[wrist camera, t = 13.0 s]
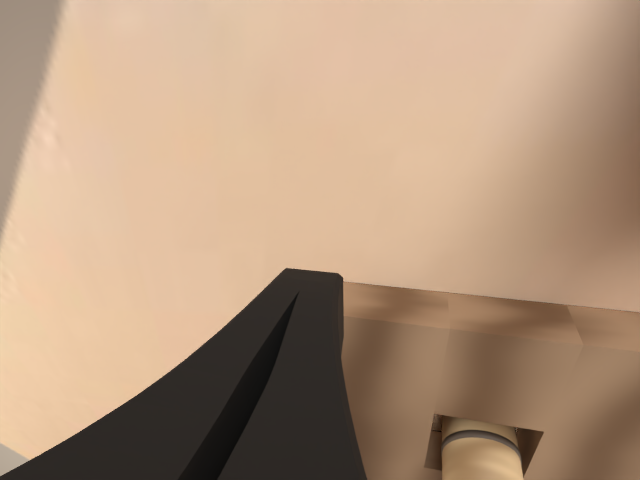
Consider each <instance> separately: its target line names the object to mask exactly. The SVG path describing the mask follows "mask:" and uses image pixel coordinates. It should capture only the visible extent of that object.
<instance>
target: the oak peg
mask: <svg viewBox="0 0 640 480" xmlns="http://www.w3.org/2000/svg"><path fill="white" fill-rule="evenodd" d="M441 456H442V480H524V479H523V473H522V467H521V465H522V461H521V454H520V451H519V448H518V442H517V436H516V430H515V427H513V426H506V425H500V424H494V423H488V422H482V421H476V420H470V419H463V418H457V417H451V416H445V415H442V444H441Z"/></svg>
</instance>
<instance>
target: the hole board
mask: <svg viewBox="0 0 640 480" xmlns="http://www.w3.org/2000/svg"><path fill="white" fill-rule="evenodd" d="M343 302H344V338H343V346H342V354H341V360H342V367H343V374H344V380H345V386H346V391H347V397H348V402H349V407H350V412H351V416H352V421H353V425H354V430H355V434H356V438H357V442H358V446H359V450H360V454H361V458H362V462H363V466H364V470H365V473H366V477H367V480H442V456H441V444H442V432H437V431H431V427H432V422H433V417H434V414H439V415H445V416H451V417H457V418H463V419H470V420H476V421H482V422H488V423H494V424H500V425H506V426H513V427H519V429H518V431H517V434H516V436H517V442H518V448H519V451H520V454H521V461H522V465H521V467H522V473H523V479H524V480H640V313H637V312H628V311H618V310H609V309H599V308H589V307H580V306H570V305H560V304H551V303H541V302H532V301H522V300H512V299H503V298H493V297H484V296H474V295H464V294H455V293H445V292H436V291H426V290H416V289H407V288H397V287H388V286H378V285H368V284H359V283H349V282H343Z"/></svg>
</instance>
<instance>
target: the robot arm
mask: <svg viewBox="0 0 640 480" xmlns="http://www.w3.org/2000/svg"><path fill="white" fill-rule="evenodd" d="M343 338H344V302H343V277H342V276H341V275H339V274H338V273H330V272H320V271H310V270H300V269H290V268H286V269H285V270H283V271H282V272H281V273H280V274H279V275H278V276H277V277H276V278H275V279H274V280H273V281H272V282H271V283H270V284H269V285H268V286H267V287H266V288H265V289H264V290H263V291H262V292H261V293H260V294H259V295H258V296H257V297H256V298H255V299H253V300H252V301H251V302H250V303H249V304H248V305H247V306H246V307H245V308H244V309H243V310H242V311H241V312H240V313H239V314H237V315H236V316H235V317H234V318H233V319H232V320H231V321H230V322H229V323H228V324H227V325H226V326H224V327H223V328H222V329H221V330H220V331H219V332H218V333H217V334H215V335H214V336H213V337H212V338H211V339H209V340H208V341H207V342H206V343H205V344H203V345H202V346H201V347H200V348H199V349H197V350H196V351H195V352H194V353H193V354H191V355H190V356H189V357H188V358H187V359H185V360H184V361H183V362H181V363H180V364H179V365H178V366H176V367H175V368H174V369H172V370H171V371H170V372H168V373H167V374H166V375H164V376H163V377H162V378H160V379H159V380H158V381H156V382H155V383H153V384H152V385H151V386H149V387H148V388H146V389H145V390H144V391H142V392H141V393H139V394H138V395H137V396H135V397H134V398H132V399H131V400H129V401H128V402H126V403H124V404H123V405H121V406H120V407H118V408H117V409H115V410H113V411H112V412H110V413H109V414H107V415H106V416H104V417H102V418H101V419H99V420H98V421H96V422H94V423H93V424H91V425H90V426H88V427H86V428H85V429H83V430H82V431H80V432H79V433H77V434H75V435H74V436H72V437H70V438H69V439H67V440H65V441H63V442H62V443H60V444H58V445H56V446H55V447H53V448H51V449H49V450H48V451H46V452H44V453H42V454H41V455H39V456H37V457H35V458H33V459H32V460H30V461H28V462H26V463H24V464H23V465H20V466H19V467H17V468H15V469H13V470H11V471H10V472H8V473H6V474H4V475H2V476H0V480H367V477H366V473H365V470H364V466H363V462H362V458H361V454H360V450H359V446H358V442H357V438H356V434H355V430H354V425H353V421H352V416H351V412H350V407H349V402H348V397H347V391H346V386H345V380H344V374H343V367H342V360H341V354H342V346H343Z"/></svg>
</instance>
